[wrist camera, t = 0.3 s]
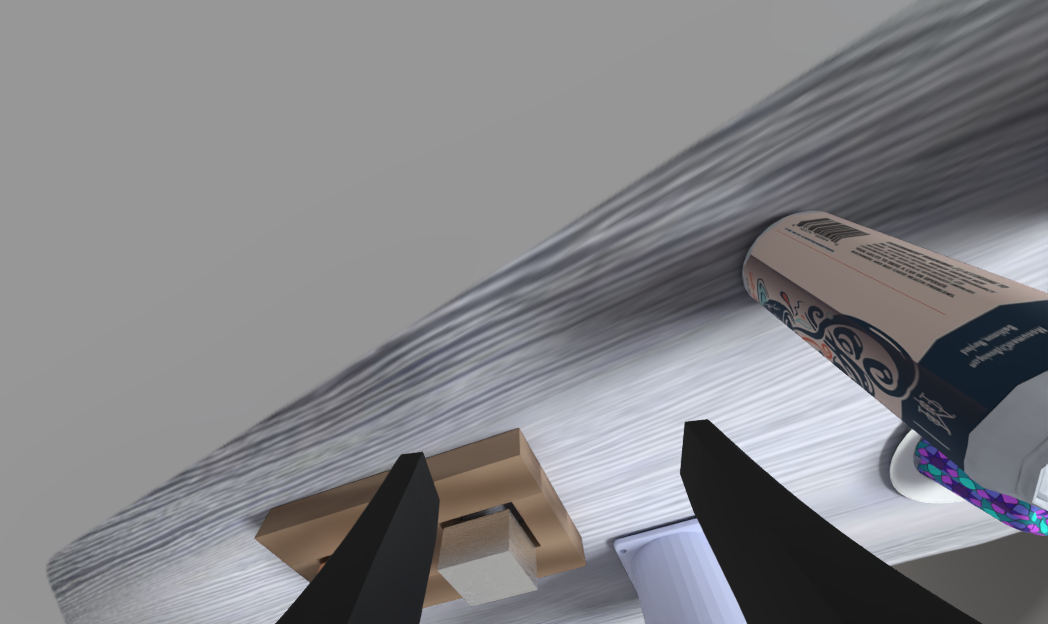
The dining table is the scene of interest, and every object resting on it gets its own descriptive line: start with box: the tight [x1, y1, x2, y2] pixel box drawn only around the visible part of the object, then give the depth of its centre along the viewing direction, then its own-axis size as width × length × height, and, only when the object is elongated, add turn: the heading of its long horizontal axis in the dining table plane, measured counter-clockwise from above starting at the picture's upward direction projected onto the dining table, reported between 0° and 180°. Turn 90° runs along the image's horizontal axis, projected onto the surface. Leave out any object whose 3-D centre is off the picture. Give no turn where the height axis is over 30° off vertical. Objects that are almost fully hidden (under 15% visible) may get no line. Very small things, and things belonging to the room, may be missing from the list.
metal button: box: [437, 509, 538, 607], centre depth 24 cm, size 4×4×2 cm
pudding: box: [890, 429, 1048, 536], centre depth 23 cm, size 12×12×5 cm
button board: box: [254, 428, 586, 608], centre depth 27 cm, size 12×18×2 cm, turn 112°
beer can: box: [742, 210, 1048, 511], centre depth 14 cm, size 5×5×12 cm
